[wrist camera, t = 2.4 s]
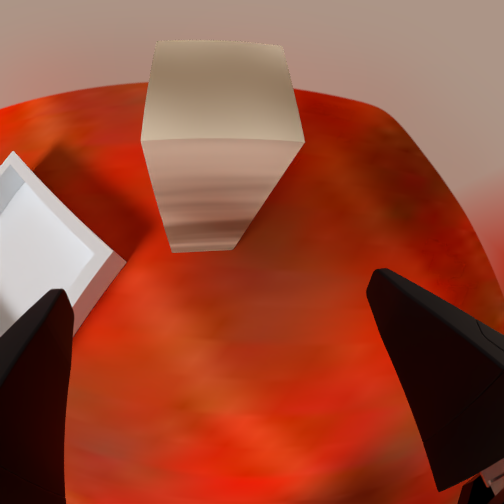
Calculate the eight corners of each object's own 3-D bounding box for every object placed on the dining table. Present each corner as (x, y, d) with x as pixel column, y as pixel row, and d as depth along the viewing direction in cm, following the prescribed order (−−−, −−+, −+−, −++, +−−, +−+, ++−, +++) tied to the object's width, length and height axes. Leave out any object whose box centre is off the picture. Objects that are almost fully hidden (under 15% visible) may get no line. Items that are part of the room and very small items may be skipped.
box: (41, 388, 15) (17, 399, 11) (-40, 283, 14) (-65, 277, 11) (126, 262, 18) (113, 251, 14) (32, 171, 17) (13, 150, 14)
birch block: (233, 249, 19) (304, 142, 7) (172, 252, 19) (141, 141, 6) (228, 193, 20) (282, 46, 8) (171, 195, 19) (157, 40, 7)
